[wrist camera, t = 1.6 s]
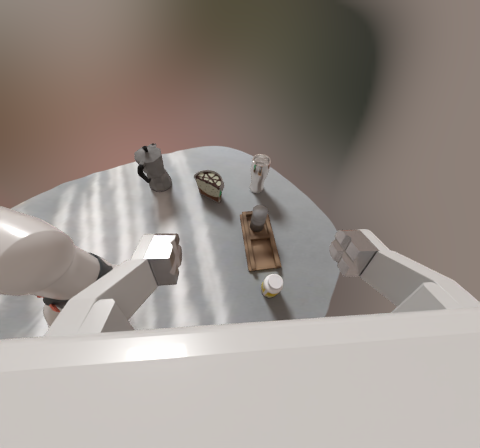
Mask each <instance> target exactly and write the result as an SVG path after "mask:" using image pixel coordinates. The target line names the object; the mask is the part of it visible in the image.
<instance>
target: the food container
mask: <svg viewBox="0 0 480 448" xmlns="http://www.w3.org/2000/svg"><path fill="white" fill-rule="evenodd" d="M194 179H196V182H197V185H198V189H199V192H200V194H202V195H204V196H206V197H207V198H209V199H211V200H213V201H215V202H217V203H220V201H221V195H222V190H223V188H224V182H223V179H222V177H221V176H220V175H219V174H218V173H216V172H214V171H211V170H204V171H200V172H198V173H196V174H195V175H194Z"/></svg>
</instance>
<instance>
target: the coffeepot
mask: <svg viewBox="0 0 480 448" xmlns="http://www.w3.org/2000/svg"><path fill="white" fill-rule="evenodd" d="M135 160H136V162H137V163H138V164H139V166H138V174H139V176H140V177H142V178H143V179H144V180H145V181H146V182H147V183H149V185H150V188H151V189H153V190H154V191H157V192H160V191H165V190H167V189H168V188H169V187H170V186H171V185H172V182H171V178H170V176H169V175H168V173H167V172H166V170H165V169H164V165H163V160H162V155H161V151H160V149H159V148H156V144H150V145H149V146H143V147H142V148H140V149H139V150H138V151H136V152H135ZM143 171H144V172H145V173H147V177H146V176H145V174H144V173H143Z"/></svg>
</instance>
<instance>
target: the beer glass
mask: <svg viewBox="0 0 480 448" xmlns="http://www.w3.org/2000/svg"><path fill="white" fill-rule="evenodd" d="M270 162H271V160H270V158H269V157H268V156H267V155H264V154H257V155H255V156H254V157H253V160H252V164H251V184H250V186H249V188H250V190H251V191H252V192H253V193H261V192H262V191H263V188H264V186H263V185H264V181H265V179H266V177H267V175H268V172H269V168H270Z"/></svg>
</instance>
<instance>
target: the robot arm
mask: <svg viewBox="0 0 480 448" xmlns="http://www.w3.org/2000/svg"><path fill="white" fill-rule="evenodd" d="M178 244H179V236H178V234H144V235H143V236H142V238H141V240H140V241H139V243H138V245H137V247H136V249H135V251H134V253H133V255H132V257H131V259H130V260H126V261H124V262H123V263H121V264H120V265H113V264H110V263H109V262H108V261H106V260H105V259H103V258H101V257H99V256H97V255H94V254H92V253H87V252H86V251H84V250H82V249H80V248H79V247H77V246H75V245H74V242H73V240H72V239H71V238H70V237H69V236H68V235H67V234H65V233H64V232H62V231H61V230H59V229H58V228H56V227H54V226H53V225H51V224H49V223H47V222H45V221H43V220H41V219H39V218H36V217H33V216H30V215H27V214H24V213H21V212H17V211H14V210H11V209H8V208H5V207H1V206H0V294H3V295H13V296H21V295H28V294H30V295H36V296H37V297H38V298H40V297H43V301H44V303H45V306H44V309H43V314H44V317H45V319H46V321H47V324H48V327H49V329H48V331H47V332H46V334H45V335H44V336H43V337H29V338H15V339H0V448H480V302H479V301H478V300H476V299H475V298H474V297H473V296H471V295H470V294H469V293H468V292H467V291H466V290H464V289H463V288H462V287H461V286H460V285H459V284H457V283H456V282H455V281H454V280H452V279H450V278H448V277H446V276H444V275H442V274H440V273H438V272H436V271H434V270H432V269H429V268H428V267H425V266H423V265H421V264H419V263H417V262H415V261H413V260H411V259H409V258H407V257H405V256H403V255H401V254H399V253H397V252H395V251H390V250H389V249H388V248H387V247H386V246H385V245H384V244H383V243H382V242H381V241H380V240H379V239H378V238H377V237H376V236H375V235H374V234H373V233H372V232H371V231H370V230H367V229H359V230H339V231H337V232H336V234H335V240H334V241H333V242H331V245H330V247H329V251H330V255H331V257H332V259H333V260H335V261H336V262H338V265H337V267H338V268H339V270H340V271H341V273H342V274H343V276H345V277H346V276H347V277H348V276H360V278H362V279H363V280H364V281H365V282H367V283H368V284H369V285H370V286H372V287H373V288H374V289H376V290H377V291H378V292H379V293H381V294H382V295H383V296H384V297H386V298H387V299H388V300H390V301H391V302H392V303H394V304H395V305H396V306H397V307H396V308H395V309H394V310H393V311H392V313H383V314H368V315H353V316H338V317H324V318H309V319H294V320H279V321H264V322H250V323H235V324H221V325H206V326H191V327H177V328H162V329H147V330H134V329H133V327H132V326H131V324H130V323H129V321H128V320H129V319H130V317H131V316H132V315H133V314H134V313H135V312H136V311H137V310H138V308H139V307H140V306H141V305H142V304H143V303H144V302H145V301H146V299H147V298H148V297H149V296H150V295H151V294H152V293H153V292H154V290H155V289H156V288H157V287H158V286H161V285H174V284H177V280H178V275H179V270H178V267H179V266H180V265H181V261H182V249H181V246H180V245H178Z"/></svg>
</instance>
